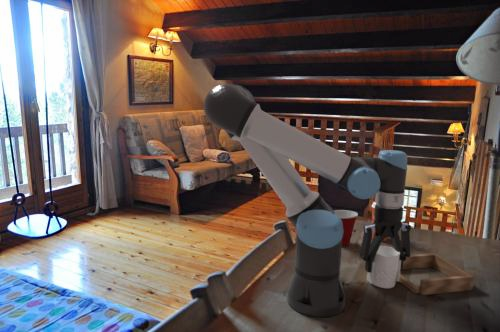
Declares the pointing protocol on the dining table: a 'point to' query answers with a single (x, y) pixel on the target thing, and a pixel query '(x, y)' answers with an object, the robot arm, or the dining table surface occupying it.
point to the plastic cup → (347, 224)
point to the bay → (452, 283)
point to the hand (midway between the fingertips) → (382, 280)
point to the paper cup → (374, 219)
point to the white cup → (386, 267)
